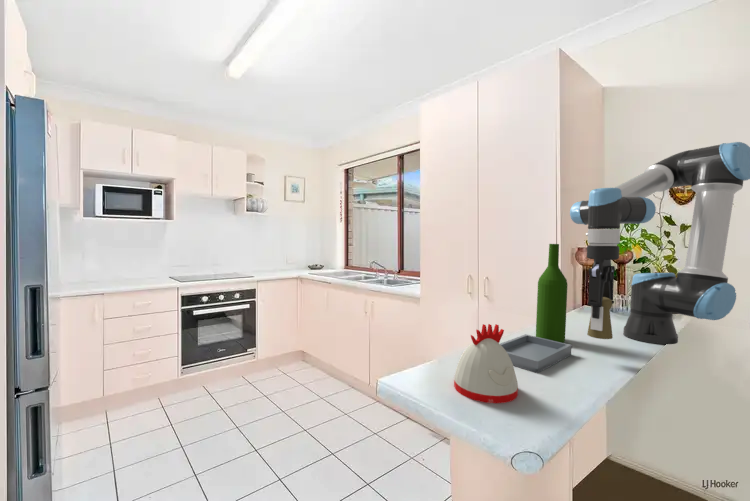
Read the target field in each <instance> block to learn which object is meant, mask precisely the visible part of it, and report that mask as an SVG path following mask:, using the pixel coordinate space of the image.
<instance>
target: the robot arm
mask: <svg viewBox="0 0 750 501" xmlns="http://www.w3.org/2000/svg"><path fill="white" fill-rule="evenodd" d="M748 180H750V146H749V145H748V144H747V143H745V142H741V141H735V142H734V141H733V142H725V143H721V144H717V145H715V144H714V145H711V146H705V147H700V148H694V149H689V150H684V151H681V152H678V153H675V154H672V155H670V156H668V157H666V158H664V159H662V160H660V161H657V162H655V163H654V164H652V165H649V166H648V167H647V168H646V169H645V170H644V172H643V173H640V174H638V175H637V176H635V177H633V178H630V179H629V180H627V181H624V182H622V183H621V184H619V185H617V186H615V187H599V188H595V189H592V190H590V192H589V195H588V200H581V201H577V202H574V203H573V204H572V205H571V207H570V210H569V216H570V219H571V221H572V222H573V223H574V224H577V225H584V226H587V225H588V226H587V232H586V233H585V236H586V237H587V244H588V245H587V247H586V258H587V259H589V260H593V264H592V265H591V268H588V277H589V278H588V300H587V302H586V303H587V306H590V317H591V329H593V330H598V331H603V307H602V300H603V297H606V298H609V299H611V301H612V305H614V303H615V300H614V281H615V280H614V279H615V278H614V276H615V275H614V274H615V269H616V268H615V265H612V261H614V260H615V261H617V260H619V258H620V246H619V244H620V243H621V239H620V238H621V224H627V225H628V224H633V225H636V224H637V225H639V224H645V223H648V222H649V221H651V220H652V219H653V218H654V217H655V215H656V210H657V208H656V204H655V202H654V201H653V200H651V199H650V198H648V197H649V196H651V195H652V194H653V195H654V194H655V193H657V192H658V193H659V192H660V193H661V192H665V191H668V190H669V189H673V188H679V187H688V186H690V188H691V189H690V190H692V191H693V192H695V201H694V207H693V213H692V221H691V225H690V232H689V240H688V244H687V245H688V247H687V252H686V258H685V265H684V267H683V268H682V269H680V270H679V271H677V275H676V274H675V273H674V272H643V273H642V272H640V273H635V274H634V275H633V276H632V280H631V291H630V294H631V295H630V296H631V297H630V312H629V316H628V318H627V320H626V323H625V326H624V327H623V335H624V337H626V338H629V339H632V340H636V341H639V342H645V343H651V344H657V345H675V344H678V342H679V335H678V334H677V331H676V330H677V329H676V326H675V323H674V320H673V316H674V315H673V314H677V315H678V314H679V315H682V316H688V317H692V318H697V319H698V320H699V319H700V320H709V321H719V320H722V319H724V318H725V317H726V316H727V315H729V314H730V312H731V311H732V310H733V308H734V306H735V303H736V300H737V292H736V288H735V287H734V286H733V285H732V284H731V283H728V281H729V277H728V276H727V275H726V274H725V273H724V272H723V268H724V262H725V256H726V249H727V243H728V237H729V229H730V222H731V219H732V210H733V204H734V198H735V194H736V193H737V192H739V191H740V190H742V189H743V186H744V182H745V181H748ZM676 276H677V277H676Z"/></svg>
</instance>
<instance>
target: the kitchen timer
mask: <svg viewBox="0 0 750 501" xmlns="http://www.w3.org/2000/svg"><path fill="white" fill-rule="evenodd" d="M499 326H500V325H499V324H495V325H494V327H493V326H492V324H490V323H488V325H486V324H482V327H481V331H480V329H476V330H475V331H476V336H477V338H475V336H473V335H472V334H470V338H471V343H470V344H468V346H466V348H465V349H464V351H463V352H462V354H461V356H460V358H459V360H458V363H457V365H456V368H455V373H454V377H453V378H454V379H453V387H454V389H455V391H456V392H457V393H458V394H460V395H461V396H463V397H464V398H468V399H470V400H473V401H476V402H481V403H485V404H505V403H509V402H513V401H514V400H516V399H517V397H518V396H519V394H518V393H519V384H518V380H517V375H516V371H515V366H513V364H512V361H511V359H510V357H509V355H508V353H507V352H506V350H505V349H504V348H503V347H502V346H501V345H500V342H501V339H502V338H503V336H504V331H505V329H503V328H501V329H499V328H500V327H499ZM493 328H494V329H493Z"/></svg>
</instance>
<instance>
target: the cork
mask: <svg viewBox="0 0 750 501" xmlns="http://www.w3.org/2000/svg"><path fill="white" fill-rule="evenodd" d="M612 301H613V300H611V299H609V298H606V297H603V300H602V307H603V331H598V330H593V329H591V316H590V318H589V324H588V327H587V336H588V337H591V338H594V339H600V340H612V339H613V338H614V337H613V336H614V335H613V330H612V328H613V327H612V321H611V308H612V307H613V304H612Z"/></svg>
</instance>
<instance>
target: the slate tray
mask: <svg viewBox="0 0 750 501" xmlns="http://www.w3.org/2000/svg"><path fill="white" fill-rule="evenodd" d="M499 344H500V345H501V346H502V347H503V348H504V349H505V350H506V352H507V353H508V355H509V357H510V359H511V361H512V364H513V367H517V368H519V369H523V370H525V371H530V372H532V373H537V374H539V373H541V372H542V371H545V369H548V368H549V367H552V366H553V365H555V364H557V363H559V362H560V361H562V360H565V359H567V358H569V357H570V356H572V346H573V345H572V344H570V343H565V342H564V343H561V342H557V341H552V340H548V339H544V338H539V337H536V335H535V336H534V335H530V334H523V335H520V336H517V337H514V338H511V339H508V340H506V341H503V342H501V343H500V342H499Z"/></svg>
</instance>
